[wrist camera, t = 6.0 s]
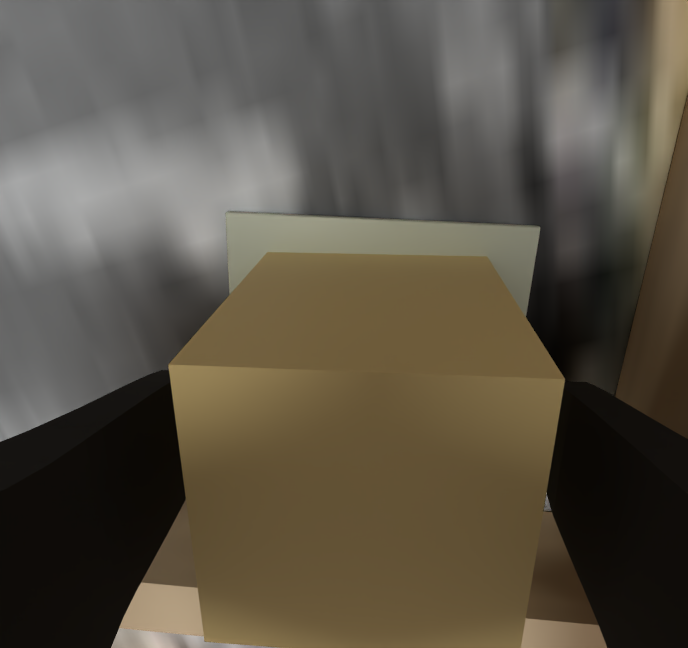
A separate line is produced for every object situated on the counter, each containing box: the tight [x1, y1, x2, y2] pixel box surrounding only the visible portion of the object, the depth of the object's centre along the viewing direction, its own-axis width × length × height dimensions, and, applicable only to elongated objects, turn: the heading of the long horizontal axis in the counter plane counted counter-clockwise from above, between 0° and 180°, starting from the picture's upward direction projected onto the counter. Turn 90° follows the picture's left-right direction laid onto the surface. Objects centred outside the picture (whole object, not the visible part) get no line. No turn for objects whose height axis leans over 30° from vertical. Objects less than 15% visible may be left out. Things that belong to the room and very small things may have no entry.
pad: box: [226, 211, 541, 317], centre depth 14 cm, size 7×7×1 cm
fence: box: [119, 97, 688, 648], centre depth 12 cm, size 16×12×4 cm
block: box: [168, 252, 565, 648], centre depth 11 cm, size 5×5×6 cm
